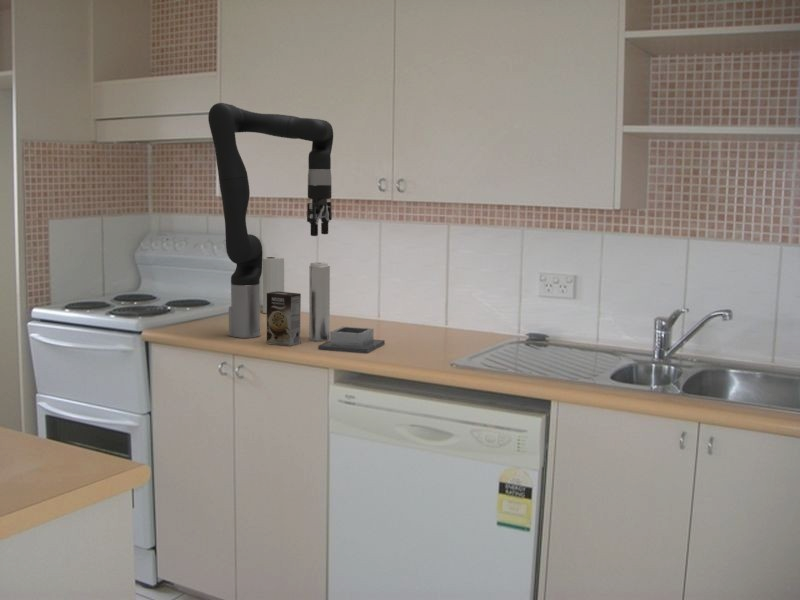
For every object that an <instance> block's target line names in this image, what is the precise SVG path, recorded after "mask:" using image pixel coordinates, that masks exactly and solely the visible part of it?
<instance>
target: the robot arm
mask: <svg viewBox="0 0 800 600" xmlns="http://www.w3.org/2000/svg"><path fill="white" fill-rule="evenodd" d="M208 111H209V112H208V115H207V117H208V126H209V130H210V134H211V137H212V142H213V145H214V150H215V158H216V159H215V161H216V166H217V173H218V183H219V190H220V196H221V202H222V208H223V209H222V210H223V211H222V212H223V217H224V228H225V229H224V230H225V250H226V254H227V257H228V258H229V260H230V261H231V262H232V263H234V264H235V265H236V268H235V270H234V272H233V273H232V274H231V276H230V302H231V303H230V304H231V306H229V307H228V336H229V337H234V338H241V339H249V338H256V337H259V336H260V335H261V319H260V318H261V306H260V305H261V301H260V300H261V297H260V295H261V293H260V288H261V287H260V283H261V282H260V279H261V276H262V274H263V245H262V242H261V240H260V239H259V238H258V236H256V235H254V234H249V233H248V229H247V220H246V219H247V211H248V208H249V207H248V206H249V202H250V194H251V193H250V183H249V176H248V172H247V169H246V166H245V163H244V161H243V159H242V157H241V154H240V152H239V149H238V146H237V141H236V133H256V134H257V133H258V134H263V135H268V136H272V137H277V138H283V139H291V140H296V139H298V140H304V141H308V142H312V143H311V144H312V145H311V151H310V152H309V154H308V158H307V159H308V170H307V171H308V172H307V199H309V200H311V202H307V205H306V206H307V207H306V208H307V209H306V222H307V223H309V224H310V236H311V237H317V236H319V224H318V223H319V220H320V222H321V223H320V226H321V227H320V228H321V229H320V231H321V232H320V233H321V235H328V234H329V223H330V221H332V219H333V218H332V202H331V201H328V200H331V199H332V170H331V169H332V163H331V162H332V159H331V156H332V155H331V153H332V149H333V142H334V130H333V129H334V128H333V126H332V124H331V123H330V122H329V121H327V120H325V119H320V118H310V117H309V118H307V117H298V116H295V115H288V114H279V113H278V114H277V113H258V112H253V111H250V110H246V109H243V108H239V107H236V105H233V104H228V103H226V102H225V103H224V102H217V103H215V104H213V105H212V106H211V108H210V109H209V110H208Z"/></svg>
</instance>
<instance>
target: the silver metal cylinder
mask: <svg viewBox="0 0 800 600" xmlns="http://www.w3.org/2000/svg"><path fill="white" fill-rule="evenodd" d="M330 269H331V266H330V265H329V263H327V262H310V265H309V292H308V293H309V297H308V299H309V300H308V301H309V311H308V312H309V316H308V318H309V320H308V321H309V325H308V328H309V331H308V332H309V333H308V335H309V336H308V337H309V341H311V342H327V341H330V332H331V330H330V325H331V324H330V321H331V320H330V312H331V311H330V310H331V309H330V305H331V303H330V301H331V298H330V297H331V295H330V293H331V288H330V287H331V286H330V285H331V283H330V282H331V281H330V280H331V277H330V273H331V270H330Z"/></svg>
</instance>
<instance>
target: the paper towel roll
mask: <svg viewBox="0 0 800 600" xmlns="http://www.w3.org/2000/svg"><path fill="white" fill-rule="evenodd" d="M277 291H279V292H285V258H282V257H281V258H279V257H274V256H268V257H267V256H266V257H262V313H263V314H265V315H267V293H270V292H277Z"/></svg>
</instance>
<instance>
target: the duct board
mask: <svg viewBox="0 0 800 600" xmlns="http://www.w3.org/2000/svg"><path fill="white" fill-rule="evenodd" d="M384 345H385V340H384V339H374V328H371V327H370V328H368V327H355V326H351V327H350V326H341V327H339V328H336V329H334V330H332V331H331V330H330V335H329V340H328V341H324V342H323V343H321V344H318V346H317V350H319V351H321V350H322V351H333V352H334V351H335V352H343V353H345V352H347V353H359V354H369V353H371V352H373V351H375V350H377V349H378V348H380V347H382V346H384Z"/></svg>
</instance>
